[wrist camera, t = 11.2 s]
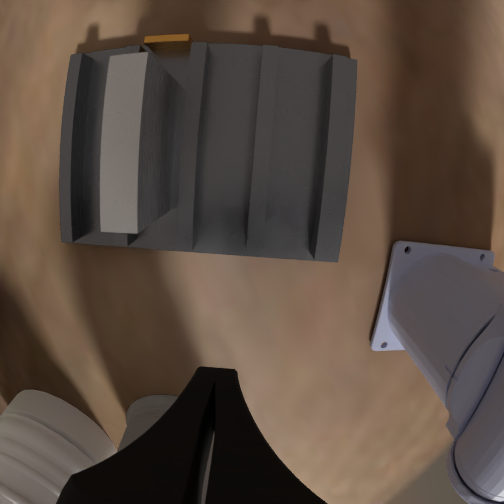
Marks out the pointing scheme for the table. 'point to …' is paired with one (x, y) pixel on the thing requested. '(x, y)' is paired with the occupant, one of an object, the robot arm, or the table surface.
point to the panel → (137, 143)
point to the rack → (226, 150)
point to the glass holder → (148, 414)
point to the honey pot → (45, 447)
